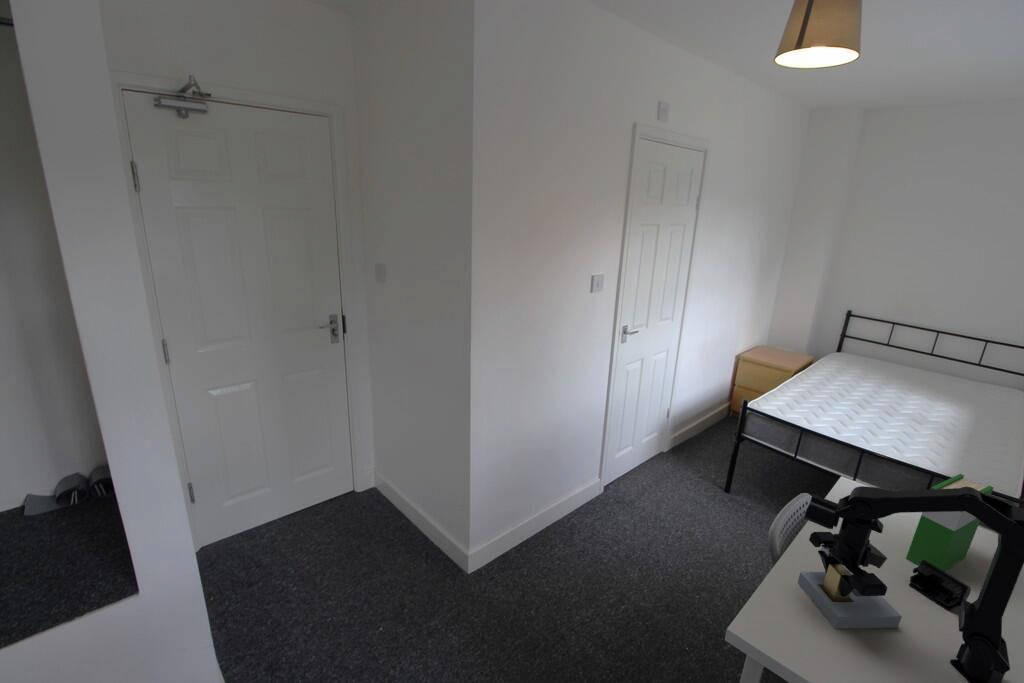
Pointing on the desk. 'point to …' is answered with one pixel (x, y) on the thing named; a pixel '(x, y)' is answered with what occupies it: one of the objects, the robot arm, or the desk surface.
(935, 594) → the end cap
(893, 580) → the desk surface
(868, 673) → the desk surface
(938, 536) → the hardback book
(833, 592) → the brass square bit
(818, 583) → the slate bore board
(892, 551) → the desk surface
